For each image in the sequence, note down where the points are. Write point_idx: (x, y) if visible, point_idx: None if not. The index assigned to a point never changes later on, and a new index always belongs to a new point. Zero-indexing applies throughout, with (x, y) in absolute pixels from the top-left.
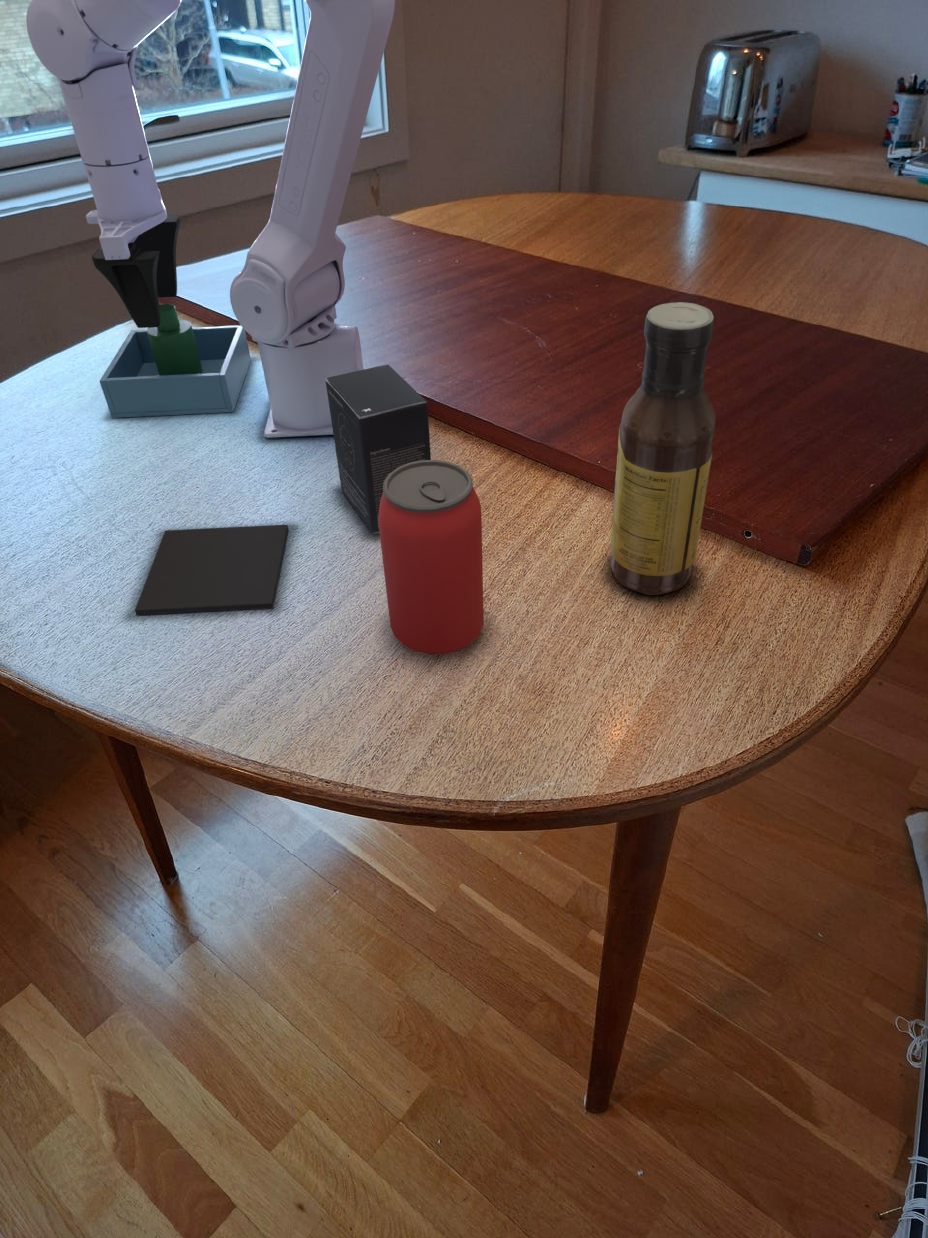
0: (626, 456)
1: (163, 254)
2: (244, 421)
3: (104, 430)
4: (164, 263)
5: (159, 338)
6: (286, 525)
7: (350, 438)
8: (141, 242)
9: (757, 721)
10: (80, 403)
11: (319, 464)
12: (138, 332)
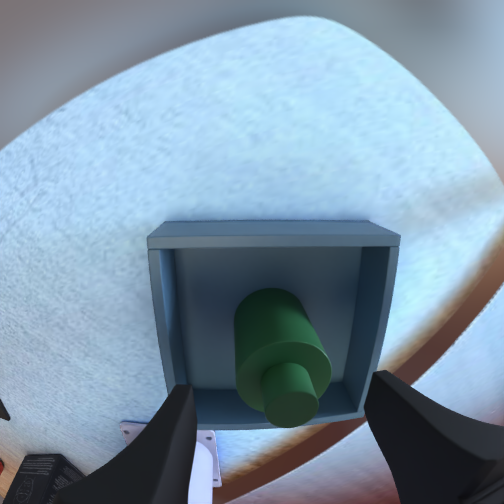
0: None
1: (403, 473)
2: (159, 402)
3: (125, 221)
4: (396, 455)
5: (236, 371)
6: (7, 420)
7: (16, 497)
8: (438, 468)
9: (4, 497)
10: (227, 145)
11: (90, 449)
12: (388, 253)
